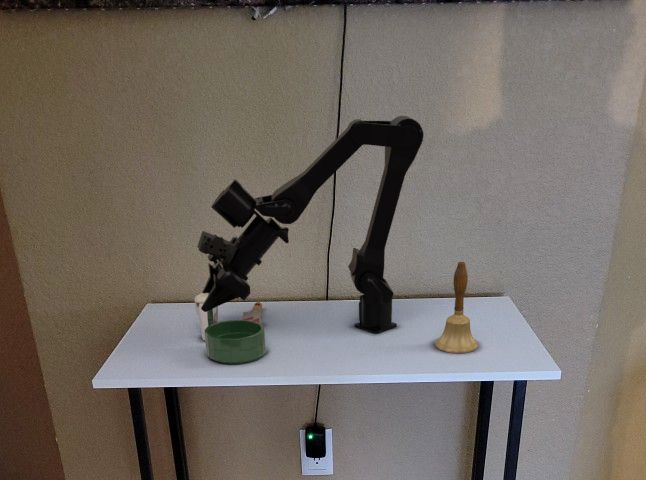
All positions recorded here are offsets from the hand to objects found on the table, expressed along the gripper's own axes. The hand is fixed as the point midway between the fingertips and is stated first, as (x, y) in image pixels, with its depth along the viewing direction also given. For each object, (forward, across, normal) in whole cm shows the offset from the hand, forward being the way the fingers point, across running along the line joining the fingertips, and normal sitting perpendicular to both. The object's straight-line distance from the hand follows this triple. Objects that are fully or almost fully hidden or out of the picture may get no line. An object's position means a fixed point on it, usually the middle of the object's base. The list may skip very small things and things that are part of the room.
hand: (201, 306), depth 148 cm
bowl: (+1, +11, +8) cm, 13 cm away
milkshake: (+4, 0, +6) cm, 7 cm away
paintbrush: (-3, -6, +13) cm, 14 cm away
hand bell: (-28, +19, +38) cm, 51 cm away
